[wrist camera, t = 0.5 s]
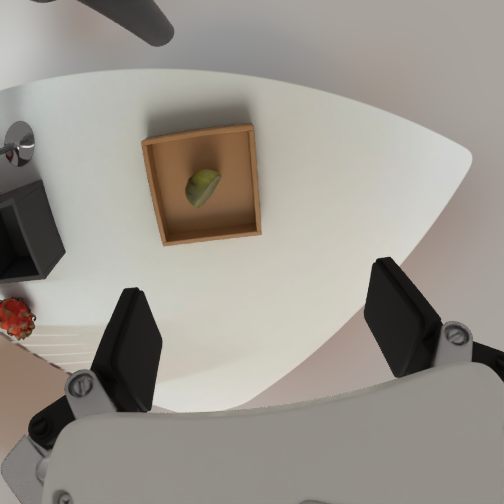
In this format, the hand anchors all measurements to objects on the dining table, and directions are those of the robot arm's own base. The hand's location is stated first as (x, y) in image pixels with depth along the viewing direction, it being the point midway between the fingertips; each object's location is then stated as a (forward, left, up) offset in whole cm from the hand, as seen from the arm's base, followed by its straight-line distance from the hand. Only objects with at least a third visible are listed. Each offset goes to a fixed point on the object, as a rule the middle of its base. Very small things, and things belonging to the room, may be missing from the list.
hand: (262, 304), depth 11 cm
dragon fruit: (+21, -48, -28) cm, 59 cm away
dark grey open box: (+4, -35, -27) cm, 45 cm away
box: (+3, -4, -27) cm, 28 cm away
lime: (+3, -4, -27) cm, 28 cm away
